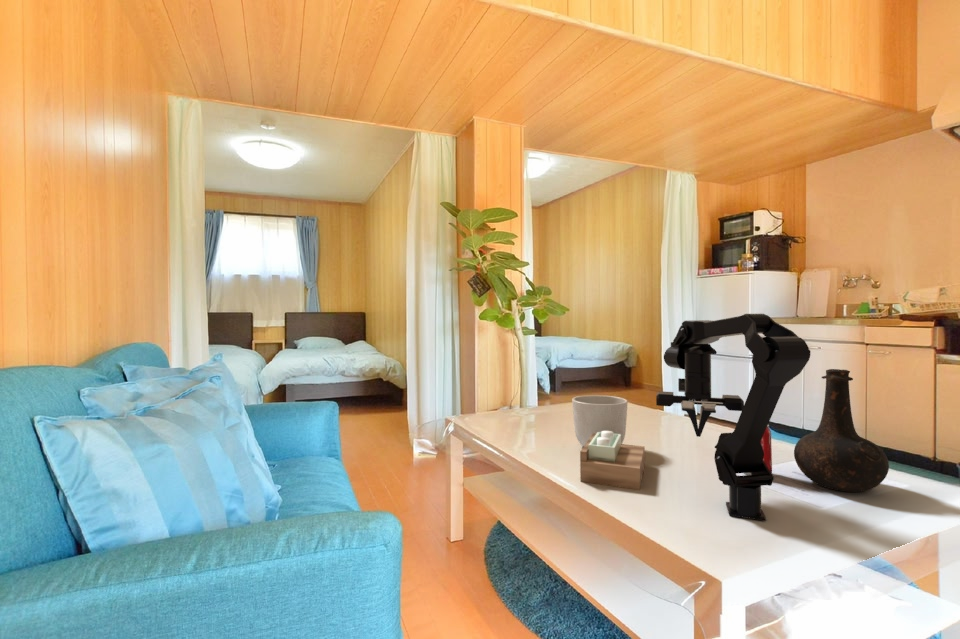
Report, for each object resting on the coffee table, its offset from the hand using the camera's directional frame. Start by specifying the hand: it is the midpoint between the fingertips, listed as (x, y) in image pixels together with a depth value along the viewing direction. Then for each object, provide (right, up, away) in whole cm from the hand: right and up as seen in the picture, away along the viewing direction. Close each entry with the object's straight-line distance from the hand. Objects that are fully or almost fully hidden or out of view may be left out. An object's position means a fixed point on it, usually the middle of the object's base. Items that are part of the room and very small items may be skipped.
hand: (698, 436), depth 107 cm
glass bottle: (+34, -12, -1) cm, 36 cm away
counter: (-17, -12, +10) cm, 23 cm away
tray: (-20, -7, +11) cm, 23 cm away
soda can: (+19, -12, +8) cm, 24 cm away
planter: (-15, -13, +33) cm, 38 cm away
